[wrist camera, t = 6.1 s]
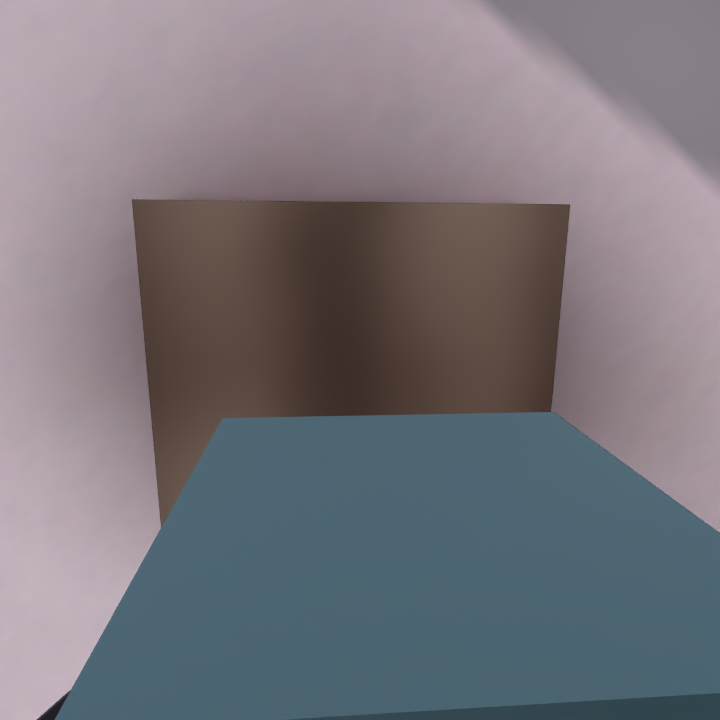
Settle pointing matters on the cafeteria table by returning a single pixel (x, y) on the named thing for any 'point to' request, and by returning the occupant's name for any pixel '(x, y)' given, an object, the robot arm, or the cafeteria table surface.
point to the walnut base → (342, 313)
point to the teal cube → (414, 581)
